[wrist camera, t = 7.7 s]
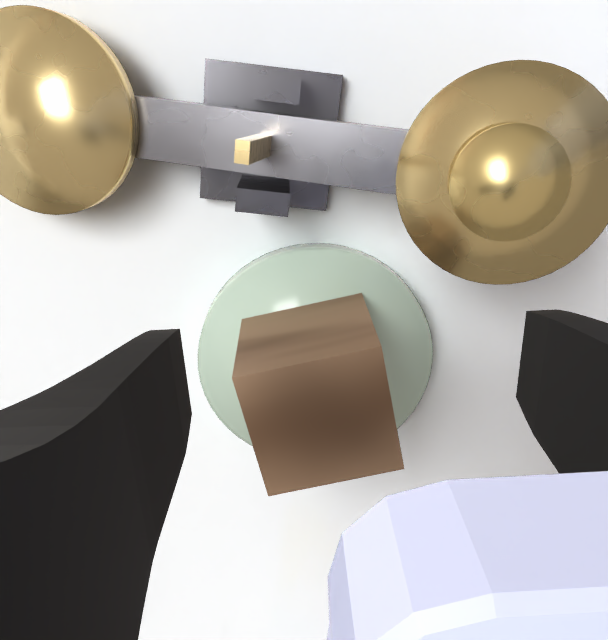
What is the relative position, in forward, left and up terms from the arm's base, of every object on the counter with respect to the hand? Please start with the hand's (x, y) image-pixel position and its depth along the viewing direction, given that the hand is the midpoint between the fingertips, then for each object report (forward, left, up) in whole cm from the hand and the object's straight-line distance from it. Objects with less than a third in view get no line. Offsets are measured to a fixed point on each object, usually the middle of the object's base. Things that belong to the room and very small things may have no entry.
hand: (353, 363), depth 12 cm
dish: (0, +5, -10) cm, 11 cm away
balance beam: (+2, -3, -8) cm, 9 cm away
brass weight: (-4, -3, -5) cm, 8 cm away
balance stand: (+2, -3, -10) cm, 11 cm away
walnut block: (0, +4, -9) cm, 10 cm away
